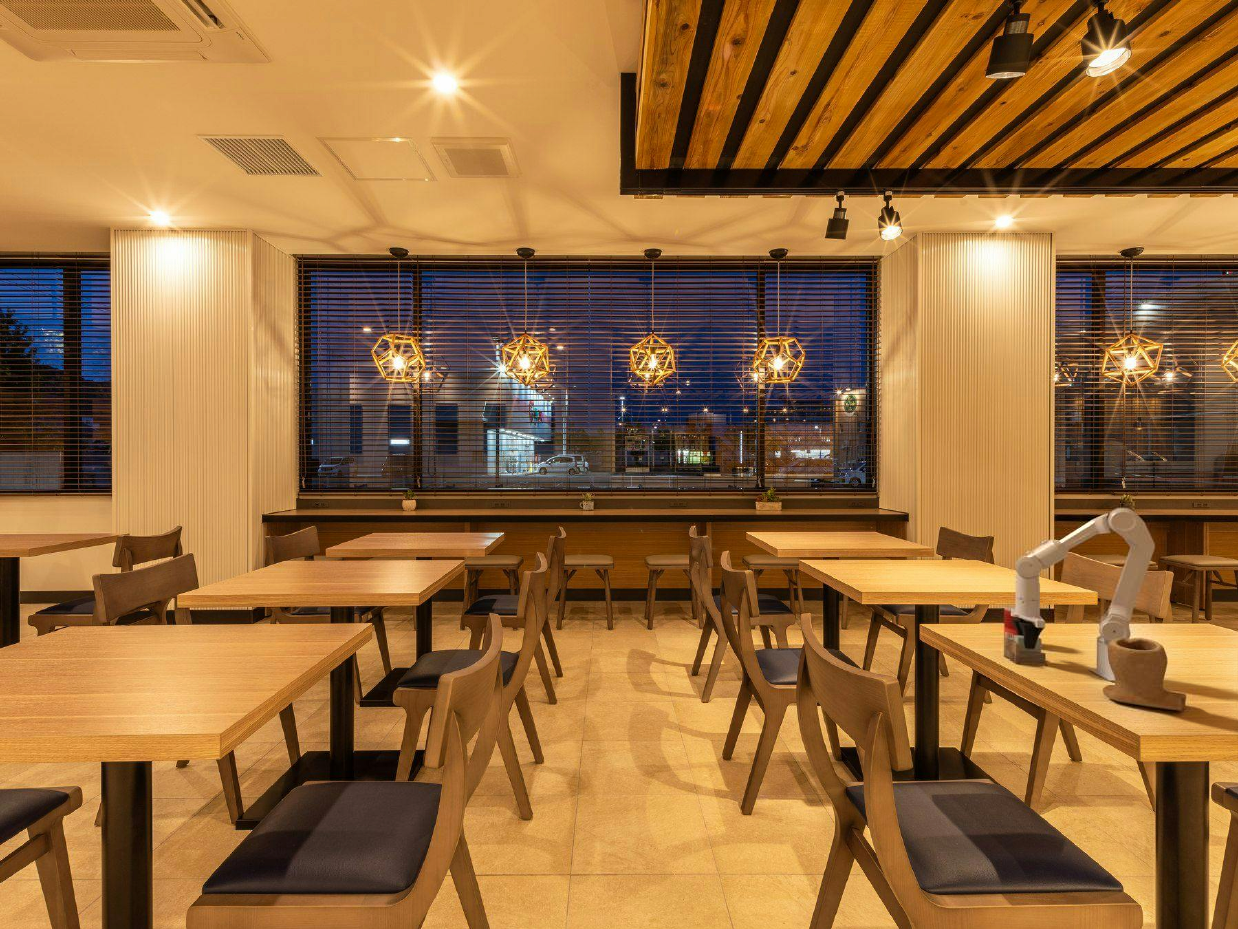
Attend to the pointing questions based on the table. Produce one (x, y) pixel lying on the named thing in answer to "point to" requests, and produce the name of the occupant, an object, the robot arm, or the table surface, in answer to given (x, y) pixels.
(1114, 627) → the robot arm
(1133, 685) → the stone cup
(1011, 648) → the grey stepped holder
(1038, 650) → the grey square block
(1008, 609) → the canned food
